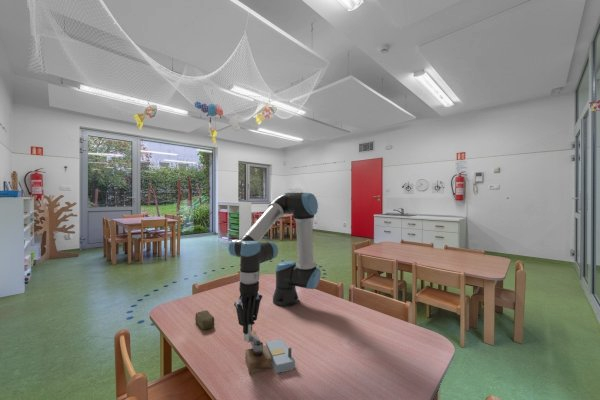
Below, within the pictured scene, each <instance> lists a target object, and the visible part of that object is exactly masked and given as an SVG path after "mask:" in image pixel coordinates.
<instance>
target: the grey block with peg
mask: <svg viewBox="0 0 600 400" xmlns="http://www.w3.org/2000/svg"><path fill="white" fill-rule="evenodd" d="M265 346H267V349H268V351H269V353H270V356H271V366H272V367H273V369H274V371H275V374H276V373H277V374H279V373H280V372H281V373H283V372H284V371H285V372H288V370H289V371H291V369H293V370H295V369H294V368H296V359H295V358H294V356H293V354H292V347H290V346H289V347H288V346H287V344H286V343H285V341H284V339H283V338H279V339H274V340H268V341H265Z"/></svg>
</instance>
